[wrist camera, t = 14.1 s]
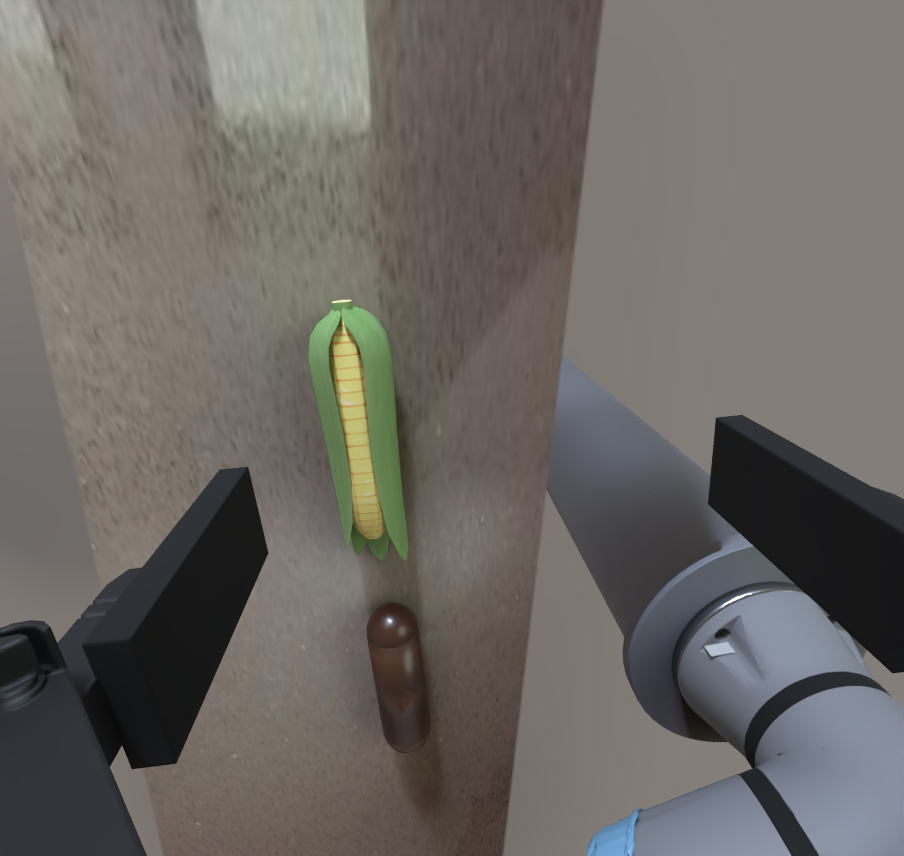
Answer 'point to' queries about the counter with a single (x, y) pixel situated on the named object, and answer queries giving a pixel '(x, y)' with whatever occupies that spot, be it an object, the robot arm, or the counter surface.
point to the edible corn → (360, 426)
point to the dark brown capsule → (399, 676)
